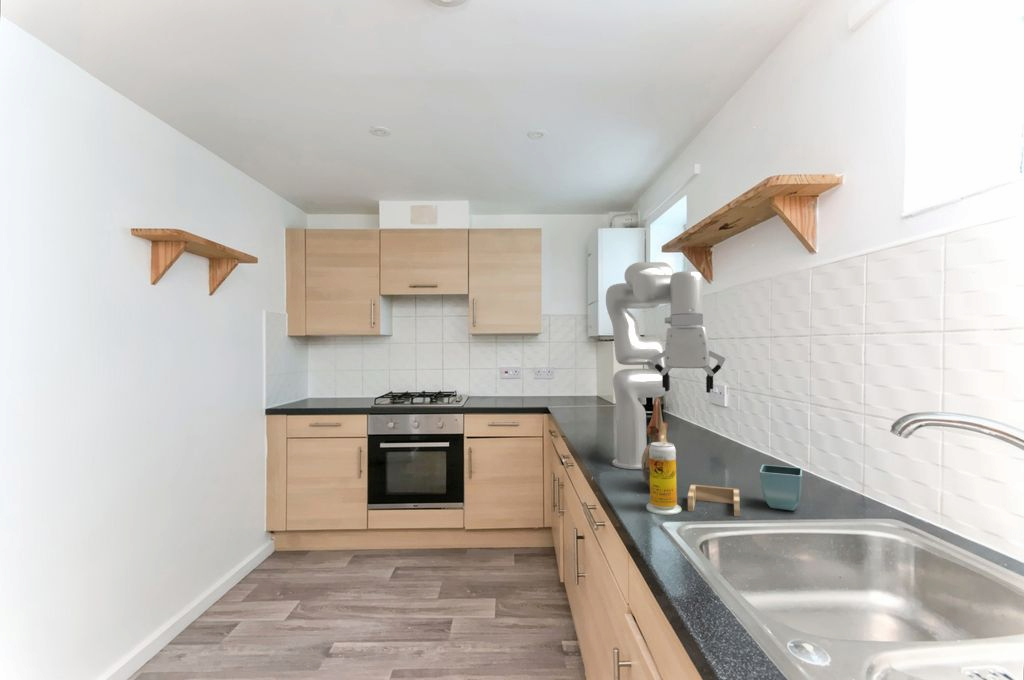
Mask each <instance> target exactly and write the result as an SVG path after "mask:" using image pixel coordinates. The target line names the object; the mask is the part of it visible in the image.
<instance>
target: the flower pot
mask: <svg viewBox="0 0 1024 680" xmlns="http://www.w3.org/2000/svg"><path fill="white" fill-rule="evenodd" d="M759 477H760V478H759V479H760V485H761V491H762V495H763V498H764V500H765V502H766V504H767V505H768V507H769V508H771V509H776V510H777V509H778V510H787V511H795V510H796V508H797V506H798V504H799V502H800V498H801V493H802V479H803V468H801V467H796V466H795V467H793V466H782V465H773V464H771V465H770V464H761V467H760V469H759Z"/></svg>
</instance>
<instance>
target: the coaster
mask: <svg viewBox="0 0 1024 680" xmlns="http://www.w3.org/2000/svg"><path fill="white" fill-rule="evenodd" d="M646 510H647V511H648V512H650V513H652V514H655V515H661V516H673V515H674V516H675V515H679V514H681V513H682V507H681V505H679V504H677V505H676V506H675V508H674V509H671V510H660V509H656V508H654V507H653V505H652V504H651V503H650V502H649V503H647V504H646Z"/></svg>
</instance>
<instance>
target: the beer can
mask: <svg viewBox="0 0 1024 680" xmlns="http://www.w3.org/2000/svg"><path fill="white" fill-rule="evenodd" d="M676 453H677V450H676V447H675V444H674V443H672V442H668V441H667V442H653V443H651V446H650V448H649V459H650V487H649V494H650V495H649V496H650V498H649V500H650V502H649V503H651V504H652V505H653V507H654V508H656V509H660V510H671V509H674V508H675V506H676V505H678V502H677V501H678V496H677V495H678V494H677V489H678V488H677V456H676V455H677V454H676Z"/></svg>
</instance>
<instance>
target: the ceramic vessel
mask: <svg viewBox="0 0 1024 680" xmlns="http://www.w3.org/2000/svg"><path fill="white" fill-rule="evenodd" d="M654 398H655V399H654V401H653V406H652V407H653V410H652V414H651V419H650V422H648V426H647V427H646V435H647V436H648V440H649V444H647V447H646V448H645V450H644V452H643V456H642V462H641V467H642V469H641V473H642V476H643V479H644V481H645V483H646V484H647V485H648V487H649V488H650V459H649V448H650V446H651V443H653V442H668V440H667V429H668V423H667V422H665V421H663V420H664V419H663V414H662V405H661V403H662V402H661V399H660V398H659V397H654Z"/></svg>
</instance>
